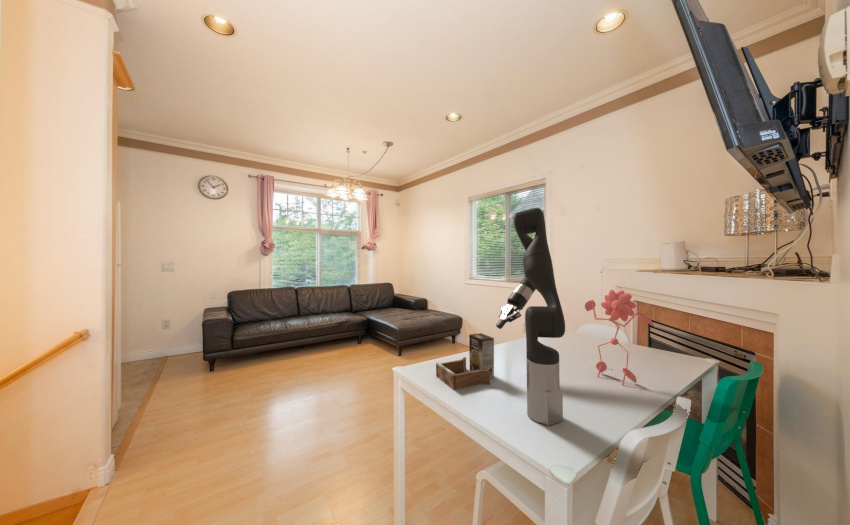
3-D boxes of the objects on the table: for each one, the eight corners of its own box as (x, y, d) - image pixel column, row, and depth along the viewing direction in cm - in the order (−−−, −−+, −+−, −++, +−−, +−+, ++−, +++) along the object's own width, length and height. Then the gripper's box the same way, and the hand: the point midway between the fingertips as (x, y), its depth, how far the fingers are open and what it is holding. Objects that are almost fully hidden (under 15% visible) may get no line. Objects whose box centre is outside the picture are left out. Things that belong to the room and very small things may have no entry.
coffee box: (468, 372, 125) (468, 334, 125) (481, 369, 127) (481, 332, 127) (481, 380, 116) (481, 339, 116) (494, 377, 119) (494, 337, 119)
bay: (491, 384, 113) (490, 369, 113) (456, 392, 106) (456, 376, 106) (465, 368, 129) (465, 355, 129) (433, 374, 123) (433, 361, 123)
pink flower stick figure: (647, 394, 102) (647, 293, 102) (577, 371, 124) (577, 288, 125) (667, 385, 110) (667, 291, 110) (597, 365, 132) (597, 287, 132)
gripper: (505, 289, 135) (483, 319, 130) (526, 292, 123) (503, 325, 118) (514, 300, 138) (493, 329, 133) (536, 304, 126) (513, 336, 121)
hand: (498, 327), depth 125 cm, fingers closed
